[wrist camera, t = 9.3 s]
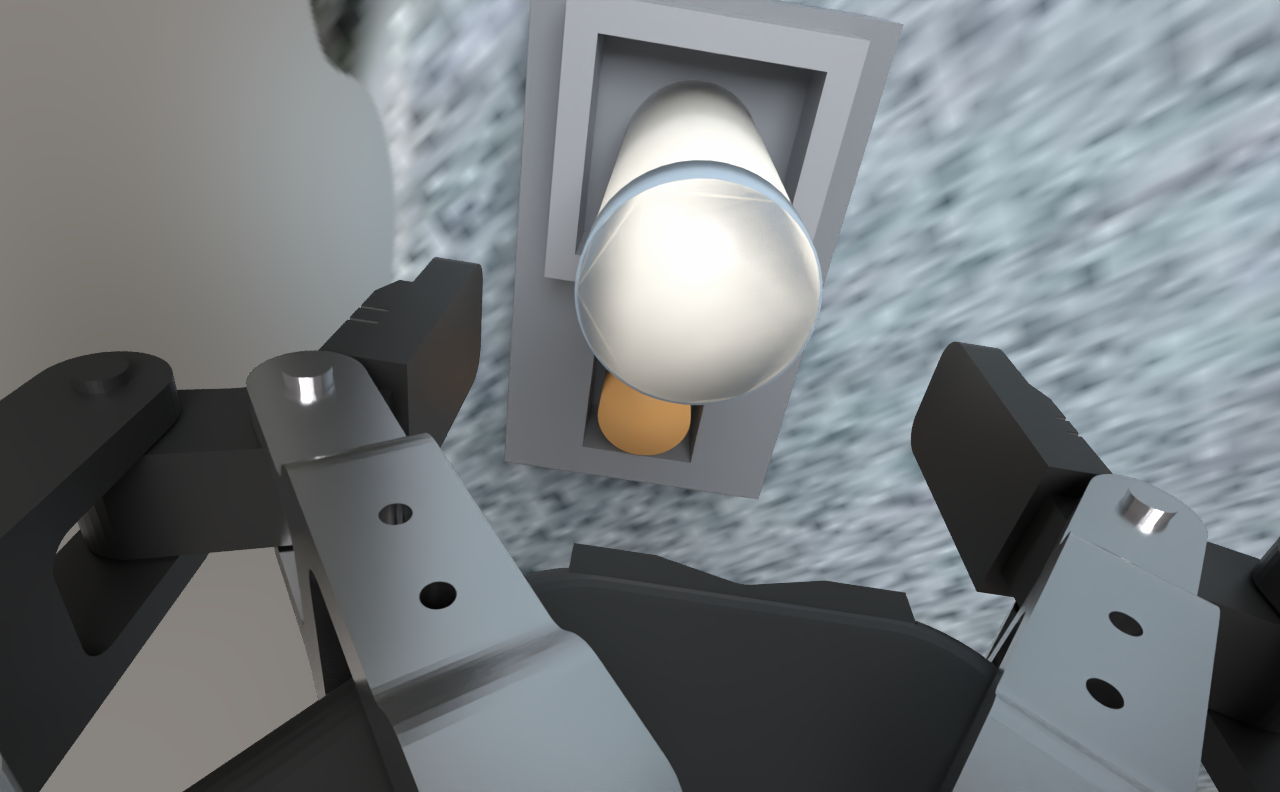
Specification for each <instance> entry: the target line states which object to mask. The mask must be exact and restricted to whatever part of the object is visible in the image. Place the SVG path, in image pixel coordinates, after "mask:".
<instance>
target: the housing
mask: <svg viewBox="0 0 1280 792" xmlns="http://www.w3.org/2000/svg"><path fill="white" fill-rule="evenodd" d="M902 27H903V24H899V23H895V22H892V21H888V20H884V19H880V18H877V17H872V16H866V15H861V14H855V13H849V12H843V11H837V10H832V9H826V8H820V7H814V6H808V5H803V4H797V3H791V2H785V1H779V0H531V5H530V23H529V40H528V58H527V75H526V92H525V110H524V127H523V145H522V162H521V180H520V197H519V215H518V232H517V250H516V267H515V285H514V302H513V320H512V337H511V355H510V372H509V390H508V407H507V425H506V442H505V460H504V461H505V462H511V463H518V464H525V465H531V466H538V467H545V468H552V469H558V470H565V471H572V472H578V473H585V474H592V475H598V476H605V477H612V478H619V479H625V480H632V481H639V482H645V483H652V484H659V485H666V486H672V487H679V488H686V489H692V490H699V491H706V492H712V493H719V494H726V495H733V496H739V497H746V498H753V499H759V495H760V492H761V489H762V485H763V482H764V479H765V476H766V472H767V469H768V466H769V463H770V459H771V456H772V453H773V449H774V446H775V443H776V440H777V436H778V433H779V430H780V427H781V423H782V420H783V417H784V413H785V410H786V407H787V404H788V400H789V397H790V394H791V391H792V387H793V384H794V381H795V377H796V374H797V371H798V368H799V364H800V361H801V358H802V354H803V351H804V349H803V351H802V353H801V354H800V355H799V356H798V357H797V359H796V360H795V361H794V362H793V364H792V365H791V366H790V367H788V368H787V369H786V370H785V371H784V372H783V373H782V374H781V375H780V376H778V377H777V378H776V379H774V380H773V381H772V382H770V383H769V384H767V385H766V386H764V387H762V388H760V389H759V390H757V391H755V392H753V393H750V394H748V395H746V396H743V397H740V398H737V399H734V400H731V401H727V402H722V403H716V404H707V405H691V422H690V427H689V430H688V432H687V434H686V435H685V437H684V438H683V440H682V441H681V442H680V443H679V444H677V445H676V446H675V447H673V448H672V449H670V450H668V451H666V452H663V453H660V454H656V455H636V454H631V453H628V452H625V451H623V450H621V449H619V448H617V447H616V446H615V445H613V444H612V443H611V442H610V441H609V440H608V439H607V438H606V437H605V436H604V434H603V432H602V431H601V428H600V426H599V422H598V409H599V403H600V398H601V393H602V388H603V382H604V377H605V372H606V368H605V367H604V366H603V364H602V363H601V362H600V361H599V360H598V359H597V358H596V356H595V354H594V353H593V351H592V350H591V348H590V347H589V345H588V343H587V341H586V339H585V337H584V335H583V333H582V330H581V327H580V324H579V321H578V317H577V312H576V306H575V280H576V273H577V268H578V264H579V260H580V257H581V254H582V252H583V249H584V246H585V243H586V240H587V238H588V235H589V233H590V230H591V228H592V225H593V223H594V222H595V220H596V218H597V216H598V213H599V210H600V207H601V204H602V201H603V198H604V195H605V192H606V189H607V186H608V184H609V181H610V178H611V175H612V172H613V169H614V166H615V163H616V160H617V157H618V154H619V151H620V149H621V146H622V143H623V140H624V137H625V134H626V131H627V128H628V126H629V123H630V121H631V119H632V117H633V115H634V113H635V112H636V110H637V109H638V108H639V106H640V105H641V104H642V103H643V102H644V101H645V100H646V99H647V98H648V97H649V96H650V95H651V94H653V93H654V92H655V91H657V90H659V89H660V88H662V87H664V86H666V85H669V84H671V83H674V82H678V81H684V80H703V81H708V82H712V83H715V84H718V85H720V86H722V87H724V88H726V89H727V90H729V91H730V92H732V93H733V94H734V95H735V96H736V97H738V98H739V99H740V100H741V101H742V103H743V104H744V105H745V106H746V108H747V109H748V111H749V112H750V114H751V116H752V118H753V121H754V123H755V125H756V127H757V129H758V131H759V134H760V136H761V138H762V140H763V142H764V145H765V147H766V149H767V151H768V153H769V156H770V158H771V160H772V162H773V164H774V167H775V169H776V171H777V173H778V175H779V178H780V180H781V182H782V184H783V186H784V188H785V191H786V193H787V195H788V197H789V199H790V202H791V204H792V205H793V206H794V208H795V210H796V211H797V213H798V214H799V216H800V217H801V219H802V222H803V224H804V226H805V228H806V230H807V232H808V234H809V237H810V239H811V241H812V243H813V245H814V248H815V250H816V252H817V256H818V259H819V263H820V266H821V274H822V282H823V284H822V289H823V286H824V282H825V279H826V276H827V273H828V269H829V266H830V263H831V260H832V256H833V253H834V250H835V246H836V243H837V240H838V237H839V233H840V230H841V227H842V224H843V220H844V217H845V214H846V210H847V207H848V204H849V201H850V197H851V194H852V191H853V188H854V184H855V181H856V178H857V174H858V171H859V168H860V165H861V161H862V158H863V155H864V152H865V148H866V145H867V142H868V138H869V135H870V132H871V129H872V125H873V122H874V119H875V116H876V112H877V109H878V106H879V102H880V99H881V96H882V93H883V89H884V86H885V83H886V80H887V76H888V73H889V70H890V66H891V63H892V60H893V57H894V53H895V50H896V47H897V44H898V40H899V37H900V34H901V30H902Z"/></svg>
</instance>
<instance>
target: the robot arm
mask: <svg viewBox="0 0 1280 792" xmlns="http://www.w3.org/2000/svg"><path fill="white" fill-rule="evenodd" d="M482 286H483V275H482V268H481V265H480V264H476V263H470V262H464V261H457V260H451V259H445V258H439V257H435V258H433V259H432V261H431V262H430V263H429V264H428V265H427V266H426V268H425V269H424V270H423V271H422V272H421V273H420V275H419V276H418V277H417V278H416V279H415V280H414V282H409V281H403V280H398V281H396V282H394V283H391V284H389V285H387V286H384V287H382V288H380V289H377V290H375V291H374V292H373V293H372V294H371V295H370V297H369V298H368V299H367V300H366V301H365V302H364V303H363V304H362V306H361V308H358V309H357V310H356V311H355V312H354V313H353V314H352V316H351V317H350V320H347V321H346V322H345V323H344V324H343V325H342V326H341V327H340V328H339V329H338V330H337V331H336V332H335V333H334V334H333V335H332V336H331V338H330V339H329V340H328V341H327V342H326V343H325V344H324V345H323V346H322V347H321V348H320V349H319V350H318V351H299V352H292V353H287V354H283V355H280V356H276V357H273V358H271V359H268V360H266V361H264V362H263V363H261V364H259V365H258V366H256V367H255V368H254V369H253V370H252V371H251V372H250V373H249V375H248V377H247V379H246V387H244V388H231V389H195V390H177V389H176V385H175V381H174V376H173V372H172V369H171V367H170V365H169V364H168V363H167V362H166V361H164V360H163V359H161V358H159V357H156V356H153V355H150V354H145V353H139V352H128V351H121V352H120V351H117V352H102V353H95V354H89V355H84V356H80V357H76V358H73V359H69V360H66V361H64V362H61V363H58V364H56V365H53V366H51V367H49V368H47V369H46V370H44V371H42V372H41V373H39V374H38V375H36V376H35V377H33V378H32V379H30V380H29V381H28V382H26V383H25V384H23V385H22V386H21V387H19V388H18V389H16V390H15V391H13V392H12V393H11V394H9V395H8V396H6V397H5V398H3V399H2V400H1V401H0V792H39V791H40V790H41V789H42V787H43V786H44V784H45V783H46V782H47V780H48V779H49V777H50V776H51V774H52V773H53V772H54V770H55V769H56V767H57V766H58V765H59V763H60V762H61V760H62V759H63V758H64V756H65V755H66V754H67V752H68V751H69V749H70V748H71V746H72V745H73V744H74V742H75V741H76V739H77V738H78V737H79V735H80V734H81V733H82V731H83V730H84V728H85V727H86V725H87V724H88V723H89V721H90V720H91V718H92V717H93V716H94V714H95V713H96V711H97V710H98V709H99V707H100V706H101V704H102V703H103V701H104V700H105V699H106V697H107V696H108V695H109V693H110V692H111V690H112V689H113V688H114V686H115V685H116V683H117V682H118V681H119V679H120V678H121V676H122V675H123V674H124V672H125V671H126V669H127V668H128V667H129V665H130V664H131V662H132V661H133V660H134V658H135V656H136V655H137V654H138V653H139V651H140V650H141V648H142V647H143V645H144V644H145V643H146V641H147V640H148V639H149V637H150V636H151V634H152V633H153V632H154V630H155V629H156V627H157V626H158V625H159V623H160V622H161V620H162V619H163V617H164V616H165V614H166V613H167V612H168V610H169V609H170V608H171V606H172V605H173V603H174V602H175V601H176V599H177V598H178V597H179V595H180V594H181V592H182V591H183V589H184V588H185V587H186V585H187V584H188V582H189V581H190V580H191V578H192V577H193V575H194V574H195V573H196V571H197V570H198V568H199V567H200V566H201V564H202V563H203V561H204V560H205V559H206V557H207V555H208V554H209V553H210V552H221V551H233V550H243V549H255V548H266V547H274V548H275V554H276V557H277V560H278V563H279V566H280V570H281V572H282V576H283V579H284V582H285V585H286V588H287V591H288V594H289V598H290V601H291V604H292V607H293V610H294V613H295V616H296V619H297V622H298V626H299V628H300V632H301V635H302V638H303V641H304V644H305V648H306V651H307V654H308V658H309V662H310V666H311V670H312V675H313V680H314V684H315V688H316V693H317V697H318V701H317V702H315V703H314V704H312V705H311V706H309V707H308V708H306V709H305V710H303V711H302V712H300V713H299V714H297V715H296V716H295V717H293V718H291V719H290V720H289V721H287V722H286V723H284V724H283V725H281V726H280V727H278V728H277V729H275V730H274V731H272V732H271V733H269V734H268V735H266V736H265V737H264V738H262V739H260V740H259V741H257V742H256V743H254V744H253V745H251V746H250V747H248V748H247V749H246V750H244V751H243V752H241V753H240V754H238V755H237V756H235V757H234V758H232V759H231V760H229V761H228V762H226V763H225V764H223V765H222V766H220V767H219V768H217V769H216V770H214V771H213V772H211V773H210V774H208V775H207V776H205V777H204V778H203V779H201V780H199V781H198V782H197V783H195V784H194V785H192V786H191V787H189V788H188V789H186V790H185V791H183V792H1197V785H1198V777H1199V770H1200V762H1202V764H1203V765H1204V767H1205V769H1206V771H1207V772H1208V774H1209V776H1210V777H1211V779H1212V781H1213V782H1214V784H1215V786H1216V788H1217V789H1218V791H1219V792H1280V537H1279V538H1278V540H1277V541H1276V542H1275V543H1274V544H1273V545H1272V547H1271V548H1270V549H1269V550H1268V551H1267V552H1266V554H1265V555H1264V556H1263V557H1262V558H1261V560H1260V559H1258V558H1255V557H1252V556H1249V555H1246V554H1243V553H1240V552H1237V551H1234V550H1231V549H1228V548H1225V547H1222V546H1219V545H1216V544H1213V543H1210V542H1207V538H1208V531H1207V528H1206V526H1205V524H1204V523H1203V521H1202V520H1201V519H1200V517H1199V516H1198V515H1197V514H1196V513H1195V512H1194V511H1193V510H1192V509H1190V508H1189V507H1188V506H1187V505H1185V504H1184V503H1183V502H1181V501H1180V500H1178V499H1177V498H1175V497H1174V496H1172V495H1170V494H1169V493H1167V492H1165V491H1163V490H1161V489H1159V488H1157V487H1155V486H1153V485H1151V484H1148V483H1146V482H1143V481H1140V480H1137V479H1134V478H1131V477H1127V476H1122V475H1115V474H1112V473H1111V471H1110V470H1109V469H1108V468H1107V467H1106V465H1105V464H1104V463H1103V462H1102V461H1101V459H1100V458H1099V457H1098V456H1097V455H1096V453H1095V452H1094V451H1093V450H1092V449H1091V447H1090V446H1089V445H1088V444H1087V443H1086V441H1085V440H1084V439H1083V438H1082V437H1079V436H1078V432H1077V430H1076V429H1075V428H1074V427H1073V426H1072V424H1071V423H1070V422H1069V421H1065V418H1066V417H1065V416H1064V415H1063V414H1062V412H1061V411H1060V410H1059V409H1058V408H1057V406H1056V405H1055V404H1054V403H1053V402H1052V400H1051V399H1050V398H1048V397H1047V396H1045V395H1044V394H1043V393H1041V392H1040V391H1038V390H1037V389H1036V388H1034V387H1033V386H1031V385H1030V384H1029V383H1028V382H1027V381H1026V380H1025V378H1024V377H1023V376H1022V375H1021V373H1020V372H1019V371H1018V370H1017V369H1016V367H1015V366H1014V365H1013V364H1012V362H1011V361H1010V360H1009V359H1008V357H1007V356H1006V355H1005V354H1004V352H1003V351H1002V350H1000V349H998V348H992V347H986V346H980V345H973V344H967V343H961V342H952V343H951V344H949V345H948V346H947V347H946V349H945V350H944V352H943V353H942V355H941V358H940V360H939V362H938V365H937V367H936V369H935V372H934V374H933V376H932V379H931V381H930V383H929V386H928V388H927V390H926V393H925V395H924V397H923V400H922V402H921V404H920V407H919V409H918V411H917V414H916V416H915V419H914V422H913V426H912V432H911V446H912V451H913V454H914V456H915V458H916V460H917V463H918V465H919V467H920V469H921V471H922V474H923V476H924V478H925V480H926V482H927V484H928V487H929V489H930V491H931V493H932V495H933V497H934V500H935V502H936V504H937V506H938V508H939V510H940V513H941V515H942V517H943V519H944V521H945V523H946V526H947V528H948V530H949V532H950V534H951V536H952V539H953V541H954V543H955V545H956V547H957V550H958V552H959V554H960V556H961V558H962V560H963V563H964V565H965V567H966V569H967V571H968V573H969V576H970V578H971V580H972V582H973V584H974V586H975V589H976V591H977V592H983V593H989V594H996V595H1003V596H1009V597H1014V598H1015V600H1016V601H1015V603H1014V604H1013V606H1012V608H1011V609H1010V611H1009V612H1008V614H1007V616H1006V617H1005V619H1004V621H1003V623H1002V625H1001V627H1000V628H999V630H998V632H997V634H996V636H995V638H994V640H993V642H992V644H991V646H990V648H989V649H988V651H987V653H986V655H985V657H983V656H982V655H980V654H979V653H977V652H976V651H974V650H973V649H971V648H970V647H968V646H966V645H965V644H963V643H962V642H960V641H958V640H956V639H954V638H952V637H951V636H949V635H947V634H945V633H943V632H941V631H939V630H937V629H934V628H932V627H930V626H928V625H925V624H923V623H920V622H918V621H915V619H914V617H913V614H912V611H911V608H910V605H909V602H908V599H907V596H906V593H903V592H897V591H890V590H883V589H877V588H870V587H863V586H857V585H850V584H843V583H837V582H830V581H811V582H793V583H775V584H758V585H744V584H738V583H734V582H731V581H728V580H726V579H723V578H720V577H717V576H714V575H711V574H708V573H705V572H703V571H700V570H697V569H694V568H691V567H688V566H685V565H682V564H680V563H677V562H674V561H671V560H668V559H665V558H662V557H659V556H657V555H650V554H643V553H637V552H630V551H623V550H617V549H610V548H603V547H597V546H590V545H584V544H577V543H574V546H573V551H572V556H571V561H570V566H569V568H558V569H550V570H544V571H538V572H533V573H529V574H526V575H523V574H522V573H521V571H520V570H519V568H518V566H517V565H516V563H515V562H514V560H513V559H512V557H511V556H510V554H509V553H508V551H507V550H506V548H505V547H504V545H503V544H502V542H501V540H500V539H499V537H498V536H497V534H496V533H495V531H494V530H493V528H492V527H491V525H490V524H489V522H488V521H487V519H486V518H485V516H484V514H483V513H482V511H481V510H480V508H479V507H478V505H477V504H476V502H475V501H474V499H473V498H472V496H471V495H470V493H469V492H468V490H467V488H466V487H465V485H464V484H463V482H462V481H461V479H460V478H459V476H458V475H457V473H456V472H455V470H454V469H453V467H452V465H451V464H450V462H449V461H448V459H447V458H446V456H445V455H444V453H443V452H442V450H441V449H440V447H441V446H442V444H443V442H444V440H445V438H446V436H447V434H448V432H449V430H450V428H451V426H452V424H453V422H454V420H455V418H456V416H457V414H458V412H459V410H460V408H461V406H462V404H463V402H464V400H465V398H466V396H467V394H468V392H469V390H470V388H471V387H472V385H473V382H474V380H475V377H476V373H477V369H478V364H479V358H480V348H481V318H482ZM76 522H78V524H79V527H80V530H79V531H78V532H77V533H76V534H75V535H74V536H73V537H72V538H71V539H70V540H69V541H68V543H67V544H66V545H65V546H64V547H63V548H62V549H61V550H60V551H59V552H58V553H57V554H56V552H57V549H58V546H59V545H60V543H61V541H62V539H63V538H64V536H65V535H66V533H67V532H68V531H69V530H70V529H71V528H72V527H73V526H74V525H75V524H76Z"/></svg>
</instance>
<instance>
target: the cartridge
mask: <svg viewBox="0 0 1280 792" xmlns="http://www.w3.org/2000/svg"><path fill="white" fill-rule="evenodd" d="M822 284H823V282H822V274H821V266H820V263H819V259H818V256H817V252H816V250H815V248H814V245H813V243H812V241H811V239H810V237H809V234H808V232H807V230H806V228H805V226H804V224H803V222H802V219H801V217H800V216H799V214H798V213H797V211H796V210H795V208H794V206H793V205H792V204H791V202H790V199H789V197H788V195H787V193H786V191H785V188H784V186H783V184H782V182H781V180H780V178H779V175H778V173H777V171H776V169H775V167H774V164H773V162H772V160H771V158H770V156H769V153H768V151H767V149H766V147H765V145H764V142H763V140H762V138H761V136H760V134H759V131H758V129H757V127H756V125H755V123H754V121H753V118H752V116H751V114H750V112H749V111H748V109H747V108H746V106H745V105H744V104H743V103H742V101H741V100H740V99H739V98H738V97H736V96H735V95H734V94H733V93H732V92H730V91H729V90H727V89H726V88H724V87H722V86H720V85H718V84H715V83H712V82H708V81H703V80H684V81H678V82H674V83H671V84H669V85H666V86H664V87H662V88H660V89H659V90H657V91H655V92H654V93H653V94H651V95H650V96H649V97H648V98H647V99H646V100H645V101H644V102H643V103H642V104H641V105H640V106H639V108H638V109H637V110H636V112H635V113H634V115H633V117H632V119H631V121H630V123H629V126H628V128H627V131H626V134H625V137H624V140H623V143H622V146H621V149H620V151H619V154H618V157H617V160H616V163H615V166H614V169H613V172H612V175H611V178H610V181H609V184H608V186H607V189H606V192H605V195H604V198H603V201H602V204H601V207H600V210H599V213H598V216H597V218H596V220H595V222H594V223H593V225H592V228H591V230H590V233H589V235H588V238H587V240H586V243H585V246H584V249H583V252H582V254H581V257H580V260H579V264H578V268H577V273H576V280H575V306H576V312H577V317H578V321H579V324H580V327H581V330H582V333H583V335H584V337H585V339H586V341H587V343H588V345H589V347H590V348H591V350H592V351H593V353H594V354H595V356H596V358H597V359H598V360H599V361H600V362H601V363H602V364H603V366H604V367H605V368H606V369H607V370H608V371H609V372H610V373H612V374H613V375H614V376H615V377H616V378H617V379H619V380H620V381H622V382H623V383H624V384H626V385H627V386H629V387H631V388H632V389H634V390H636V391H638V392H640V393H642V394H645V395H647V396H650V397H652V398H655V399H658V400H662V401H666V402H670V403H677V404H683V405H707V404H716V403H722V402H727V401H731V400H734V399H737V398H740V397H743V396H746V395H748V394H750V393H753V392H755V391H757V390H759V389H760V388H762V387H764V386H766V385H767V384H769V383H770V382H772V381H773V380H774V379H776V378H777V377H778V376H780V375H781V374H782V373H783V372H784V371H785V370H786V369H787V368H788V367H790V366H791V365H792V364H793V362H794V361H795V360H796V359H797V357H798V356H799V355H800V354H801V353H802V351H803V349H804V348H805V346H806V345H807V343H808V341H809V340H810V338H811V335H812V333H813V331H814V329H815V327H816V323H817V320H818V317H819V314H820V309H821V302H822Z"/></svg>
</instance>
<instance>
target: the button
mask: <svg viewBox="0 0 1280 792" xmlns="http://www.w3.org/2000/svg"><path fill="white" fill-rule="evenodd" d="M598 422H599V426H600V428H601V431H602V432H603V434H604V436H605V437H606V438H607V439H608V440H609V441H610V442H611V443H612V444H613V445H615V446H616V447H617V448H619V449H621V450H623V451H625V452H628V453H631V454H636V455H656V454H660V453H663V452H666V451H668V450H670V449H672V448H673V447H675V446H676V445H677V444H679V443H680V442H681V441H682V440H683V438H684V437H685V435H686V434H687V432H688V430H689V427H690V422H691V405H683V404H677V403H670V402H666V401H662V400H658V399H655V398H652V397H650V396H647V395H645V394H642V393H640V392H638V391H636V390H634V389H632V388H631V387H629V386H627V385H626V384H624V383H623V382H622V381H620V380H619V379H617V378H616V377H615V376H614V375H613V374H612V373H610V372H609V371H608V370H607V369H606V372H605V377H604V382H603V388H602V393H601V398H600V403H599V409H598Z"/></svg>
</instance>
